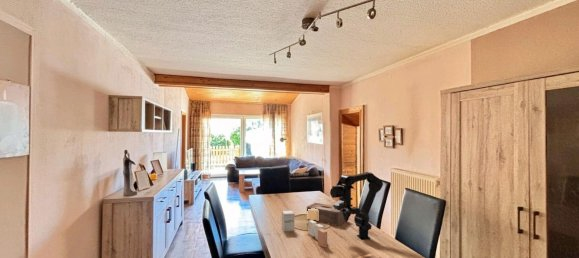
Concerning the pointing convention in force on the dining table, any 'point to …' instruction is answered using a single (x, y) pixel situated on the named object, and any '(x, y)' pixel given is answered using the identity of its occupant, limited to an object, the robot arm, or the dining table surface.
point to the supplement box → (288, 220)
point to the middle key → (317, 226)
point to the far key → (311, 227)
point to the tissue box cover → (328, 213)
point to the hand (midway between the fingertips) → (346, 221)
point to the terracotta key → (322, 237)
